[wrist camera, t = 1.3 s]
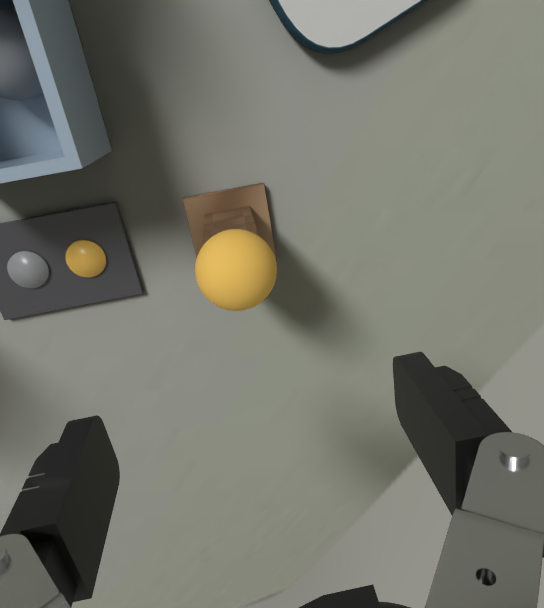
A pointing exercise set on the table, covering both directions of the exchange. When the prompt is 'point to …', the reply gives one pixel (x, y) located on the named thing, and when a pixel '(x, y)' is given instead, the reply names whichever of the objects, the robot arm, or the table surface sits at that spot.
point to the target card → (65, 261)
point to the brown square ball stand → (229, 214)
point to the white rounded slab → (339, 20)
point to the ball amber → (236, 269)
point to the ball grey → (16, 61)
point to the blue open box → (51, 99)
